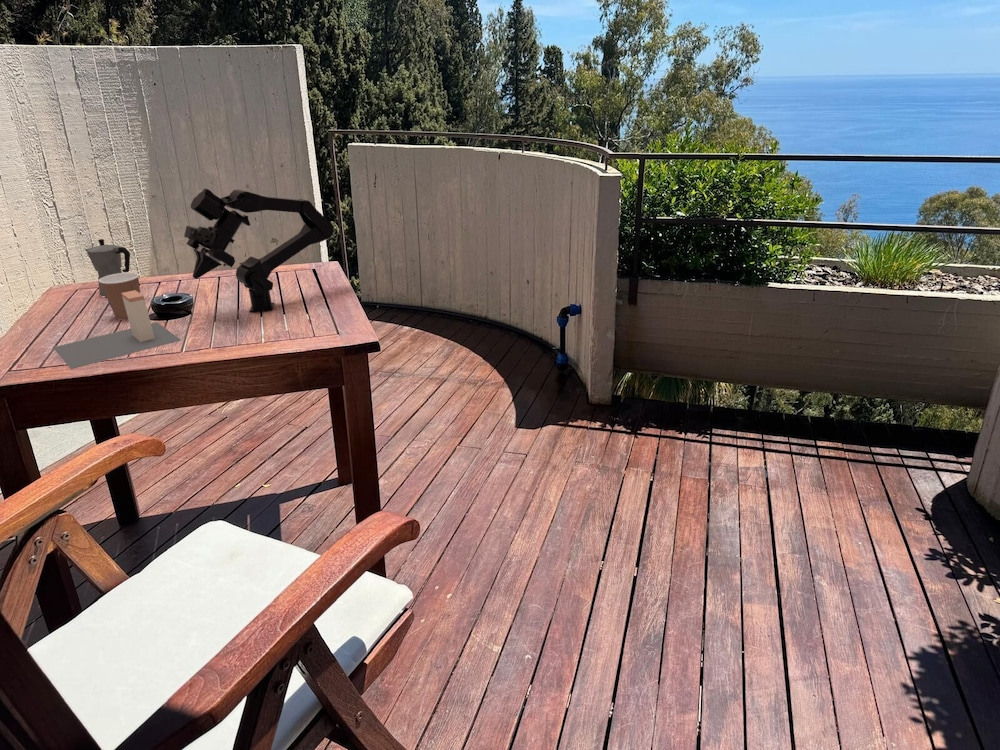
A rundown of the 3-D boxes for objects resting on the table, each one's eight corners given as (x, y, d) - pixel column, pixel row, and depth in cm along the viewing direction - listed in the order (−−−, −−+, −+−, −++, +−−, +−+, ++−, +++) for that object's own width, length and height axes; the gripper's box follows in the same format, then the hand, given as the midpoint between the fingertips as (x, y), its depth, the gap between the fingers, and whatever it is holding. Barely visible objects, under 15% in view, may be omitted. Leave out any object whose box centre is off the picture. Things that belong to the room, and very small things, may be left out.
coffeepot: (87, 297, 215) (71, 242, 208) (108, 289, 224) (93, 235, 216) (130, 299, 213) (115, 243, 205) (149, 290, 221) (135, 236, 214)
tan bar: (146, 332, 183) (135, 290, 178) (154, 338, 179) (143, 295, 174) (132, 335, 181) (121, 293, 176) (140, 342, 176) (129, 298, 171)
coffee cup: (126, 310, 202) (116, 271, 197) (156, 311, 200) (146, 272, 195) (101, 322, 193) (90, 282, 188) (132, 323, 191) (121, 283, 186)
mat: (157, 323, 191) (156, 322, 191) (181, 341, 177) (181, 340, 177) (53, 348, 175) (52, 347, 175) (71, 370, 161) (70, 369, 161)
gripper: (185, 208, 186) (155, 256, 184) (213, 219, 174) (181, 270, 172) (219, 230, 194) (190, 276, 193) (248, 242, 182) (218, 291, 181)
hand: (194, 278), depth 184 cm, fingers closed
